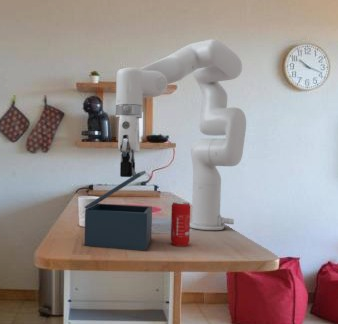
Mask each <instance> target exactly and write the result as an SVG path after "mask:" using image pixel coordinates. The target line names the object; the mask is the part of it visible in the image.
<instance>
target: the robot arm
mask: <svg viewBox="0 0 338 324" xmlns="http://www.w3.org/2000/svg"><path fill="white" fill-rule="evenodd" d="M242 71H243V64H242V60H241V58H240V57H239V56H238V54H236V52H234V51H233V49H231V48H230V47H229V46H227V45H226V44H225V43H223V42H222V41H220V40H218V39H215V38H210V39H205V40H202V41H197V42H192V43H189V44H187V45H185V46H183V47H182V48H179V49H178V50H176V51H175V52H172V53H171V54H169V55H168V56H165V57H163V58H159V59H158V60H156V61H154V62H152V63H151V62H150V63H149V64H146V65H144V66H142V67H140V68H138V67H123V68H120V69H118V70H117V72H116V78H115V79H116V81H115V84H116V85H115V118H116V119H118V135H117V136H118V140H117V141H118V142H117V145H118V146H117V147H118V151H119V152H120V166H119V167H120V169H119V170H120V171H119V177H121V178H131V177H133V176H132V167H133V169H134V170H135V171H136V159H135V158H136V157H135V155H136V154H135V153H139V152H140V151H141V150H140V149H141V147H140V119H143V99H149V98H156V97H159V96H161V95H163V94H164V93H165V92H166V91H167V90H168V89H167V88H168V85H170V84H173V83H176V82H180V81H181V80H183V79H184V78H186V77H187V76H188V75H190V74H193V78H194V79H195V81H196V83H197V85H198V87H199V89H200V91H201V94H202V104H201V111H200V116H199V117H200V118H199V131H200V133H201V134H203V135H205V136H211V137H213V136H215V137H217V136H225V138H218V137H217V138H200V139H198V140H196V141H195V142H193V144H192V146H191V148H190V156H191V163H192V205H191V207H192V209H191V220H190V229H194V230H202V231H222V230H224V229H225V225H234V224H235V219H234V218H230V217H224V216H223V217H222V214H221V196H222V194H221V193H222V177H221V174H220V172H219V170H218V168H217V167H235V166H238V165H239V164H240V162H241V161H242V158H243V154H244V146H245V138H246V132H247V131H246V129H247V119H246V115H245V111H243V110H242V109H241V108H240V107H235V106H234V107H233V106H232V107H227V106H228V94H227V91H226V90H225V88H224V87H223V86H222V85H221V83H220V82H225V81H231V80H235V79H237V78H238V77H239V76H240V75H241V74H242ZM131 162H132V163H133V166H132V163H131Z"/></svg>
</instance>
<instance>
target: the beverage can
mask: <svg viewBox="0 0 338 324" xmlns="http://www.w3.org/2000/svg"><path fill="white" fill-rule="evenodd" d="M170 221H171V222H170V241H171V244H172V245H173V246H177V247H186V246H189V243H190V235H191V233H190V232H191V230H190V229H191V228H190V222H191V205H190V202H188V201H187V202H186V201H172V204H171V217H170Z"/></svg>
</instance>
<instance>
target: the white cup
mask: <svg viewBox="0 0 338 324" xmlns="http://www.w3.org/2000/svg"><path fill="white" fill-rule="evenodd" d="M99 197H100V196H94V195H82V196H78V197H77V205H78V207H77V208H78V209H77V210H78V226H80V227H83V228H85V210H86V208H85V206H87V205H88V204H90V203H91V202H93V201H94V200H96V199H98V198H99ZM97 204H101V202H99V203H97ZM95 205H96V204H95ZM93 206H94V205H93ZM91 207H92V206H91ZM89 208H90V207H89ZM87 209H88V208H87Z"/></svg>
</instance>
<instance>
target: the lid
mask: <svg viewBox="0 0 338 324" xmlns="http://www.w3.org/2000/svg"><path fill="white" fill-rule="evenodd" d="M131 163H132V162H131ZM132 166H133V163H132ZM145 174H147V172H146V170H142V171H140V172H136V169H135V170H134V169H133V167H132V177H128V179H126V180H125V181H123V182H121V183H120V184H118V185H116V186H114V187H113V188H112V189H110V190H109V191H107V192H106V193H103V194H102V195H101V196H98V197H99V198H98V199H96V200H94V201H93V202H91V203H90V204H88V205H87V206H85V208H86V209H87V208H89V207H91V206H93V205H95V204H97V203H99V202H100V203H101V202H102V201H104V200H106V199H107V198H108V197H110V196H112V195H113V194H115V193H117V192H118V191H120V190H122V189H124V187H126V186H128V185H129V184H131V183H133V182H134V181H135V180H137V179H139V178H140V177H142V176H144V175H145Z"/></svg>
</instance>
